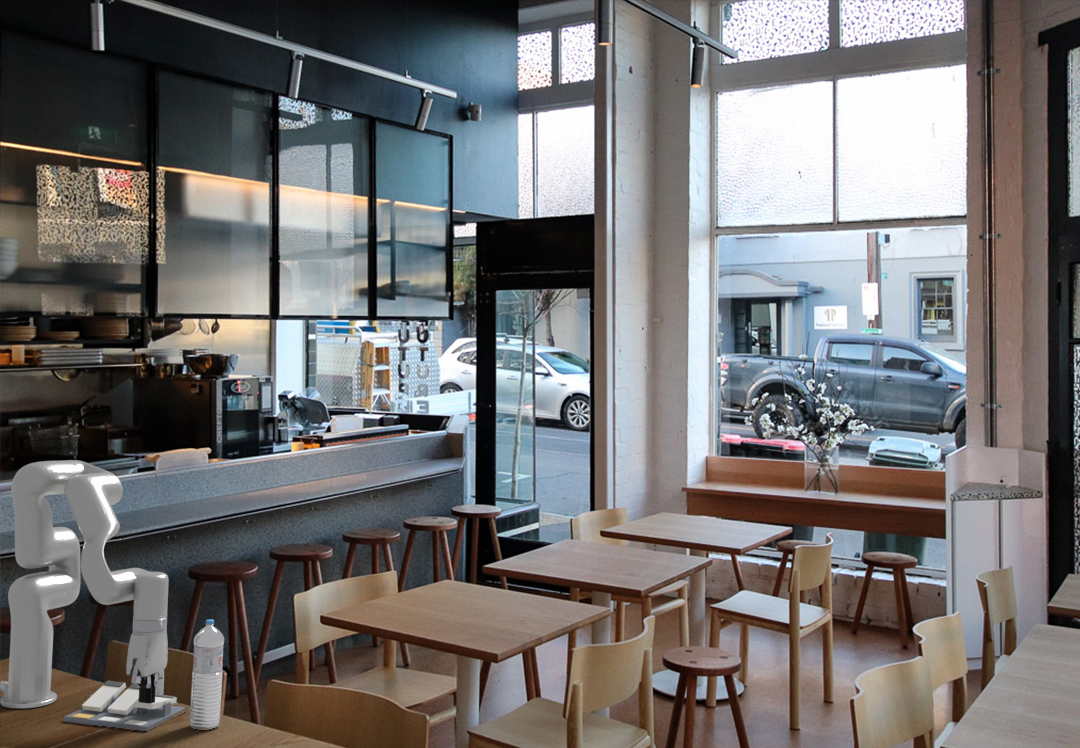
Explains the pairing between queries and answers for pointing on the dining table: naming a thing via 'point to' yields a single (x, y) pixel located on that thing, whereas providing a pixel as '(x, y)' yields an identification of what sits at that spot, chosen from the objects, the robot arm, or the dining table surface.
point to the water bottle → (207, 678)
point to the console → (125, 717)
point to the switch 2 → (156, 702)
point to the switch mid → (125, 701)
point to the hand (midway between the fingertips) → (146, 703)
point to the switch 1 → (104, 696)
